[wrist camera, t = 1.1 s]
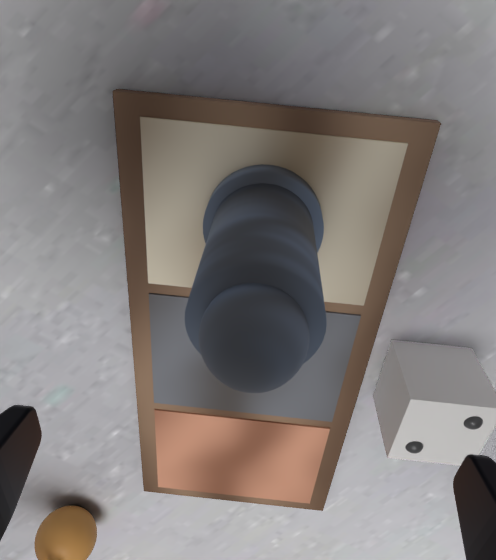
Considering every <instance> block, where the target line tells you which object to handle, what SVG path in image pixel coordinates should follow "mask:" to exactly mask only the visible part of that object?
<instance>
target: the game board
mask: <svg viewBox="0 0 496 560" xmlns="http://www.w3.org/2000/svg"><path fill="white" fill-rule="evenodd" d="M113 103H114V116H115V129H116V142H117V154H118V167H119V180H120V193H121V205H122V218H123V231H124V243H125V256H126V269H127V282H128V294H129V307H130V320H131V332H132V345H133V358H134V371H135V383H136V396H137V409H138V422H139V434H140V447H141V460H142V472H143V485H144V491H148V492H157V493H166V494H175V495H184V496H193V497H202V498H212V499H221V500H230V501H239V502H248V503H257V504H266V505H275V506H284V507H293V508H303V509H312V510H321V511H323V508H324V505H325V502H326V498H327V495H328V492H329V489H330V485H331V482H332V479H333V475H334V472H335V469H336V466H337V462H338V459H339V456H340V453H341V449H342V446H343V443H344V439H345V436H346V433H347V430H348V426H349V423H350V420H351V417H352V413H353V410H354V407H355V403H356V400H357V397H358V394H359V390H360V387H361V384H362V381H363V377H364V374H365V371H366V367H367V364H368V361H369V358H370V354H371V351H372V348H373V345H374V341H375V338H376V335H377V331H378V328H379V325H380V322H381V318H382V315H383V312H384V309H385V305H386V302H387V299H388V296H389V292H390V289H391V286H392V282H393V279H394V276H395V273H396V269H397V266H398V263H399V260H400V256H401V253H402V250H403V246H404V243H405V240H406V237H407V233H408V230H409V227H410V224H411V220H412V217H413V214H414V210H415V207H416V204H417V201H418V197H419V194H420V191H421V188H422V184H423V181H424V178H425V174H426V171H427V168H428V165H429V161H430V158H431V155H432V152H433V148H434V145H435V142H436V138H437V135H438V132H439V129H440V125H441V123H440V122H438V121H437V120H428V119H418V118H408V117H398V116H388V115H377V114H367V113H357V112H347V111H337V110H327V109H317V108H306V107H296V106H286V105H276V104H266V103H256V102H246V101H235V100H225V99H215V98H205V97H195V96H185V95H175V94H164V93H154V92H144V91H134V90H124V89H116V90H114V91H113ZM261 164H264V165H275V166H279V167H283V168H286V169H288V170H290V171H292V172H294V173H296V174H297V175H299V176H300V177H301V178H303V179H304V180H305V181H306V182H307V183H308V184H309V185H310V186H311V188H312V189H313V191H314V192H315V194H316V196H317V198H318V200H319V203H320V206H321V212H322V217H323V223H324V233H323V240H322V243H321V246H320V249H319V251H318V253H317V255H318V262H319V269H320V276H321V283H322V290H323V297H324V304H325V311H326V322H327V326H326V333H325V336H324V339H323V341H322V343H321V345H320V347H319V348H318V350H317V351H316V353H315V354H314V355H313V356H312V357H311V358H310V359H309V360H308V361H306V362H305V363H304V364H302V366H301V368H300V369H299V371H298V372H297V373H296V375H295V376H294V377H293V378H292V379H290V380H289V381H288V382H287V383H285V384H284V385H282V386H281V387H278V388H276V389H274V390H271V391H268V392H263V393H245V392H240V391H237V390H234V389H232V388H230V387H228V386H226V385H224V384H223V383H221V382H220V381H219V380H218V379H217V378H216V377H215V376H214V375H213V374H212V373H211V372H210V370H209V369H208V368H207V366H206V364H205V362H204V360H203V358H202V355H201V354H200V353H199V352H198V351H197V350H196V348H195V347H194V346H193V344H192V342H191V341H190V339H189V336H188V334H187V331H186V327H185V309H186V305H187V302H188V298H189V295H190V292H191V289H192V286H193V283H194V279H195V276H196V273H197V270H198V267H199V264H200V260H201V257H202V254H203V251H204V248H205V245H206V243H205V240H204V235H203V218H204V214H205V211H206V208H207V205H208V203H209V200H210V198H211V195H212V193H213V192H214V190H215V188H216V187H217V186H218V185H219V183H220V182H221V181H222V180H224V179H225V178H226V177H227V176H229V175H230V174H231V173H233V172H235V171H237V170H239V169H242V168H244V167H248V166H252V165H261Z"/></svg>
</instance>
